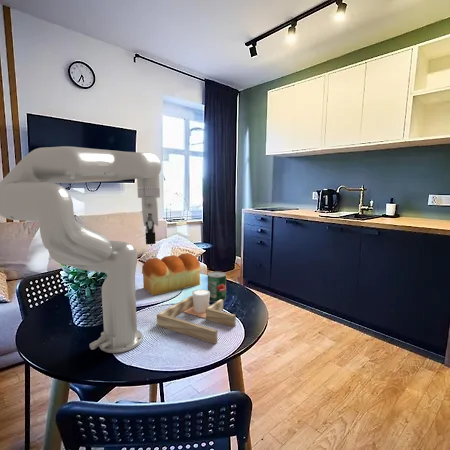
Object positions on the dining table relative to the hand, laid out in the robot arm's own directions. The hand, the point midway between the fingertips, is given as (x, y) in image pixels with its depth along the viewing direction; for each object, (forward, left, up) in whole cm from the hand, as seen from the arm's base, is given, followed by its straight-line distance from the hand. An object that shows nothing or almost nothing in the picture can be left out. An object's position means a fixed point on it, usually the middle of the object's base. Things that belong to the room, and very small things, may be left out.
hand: (150, 241), depth 101 cm
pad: (+13, -13, -28) cm, 34 cm away
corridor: (+7, -18, -28) cm, 34 cm away
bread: (+29, +15, -29) cm, 43 cm away
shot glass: (+13, -13, -28) cm, 33 cm away
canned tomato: (+26, -12, -28) cm, 40 cm away
